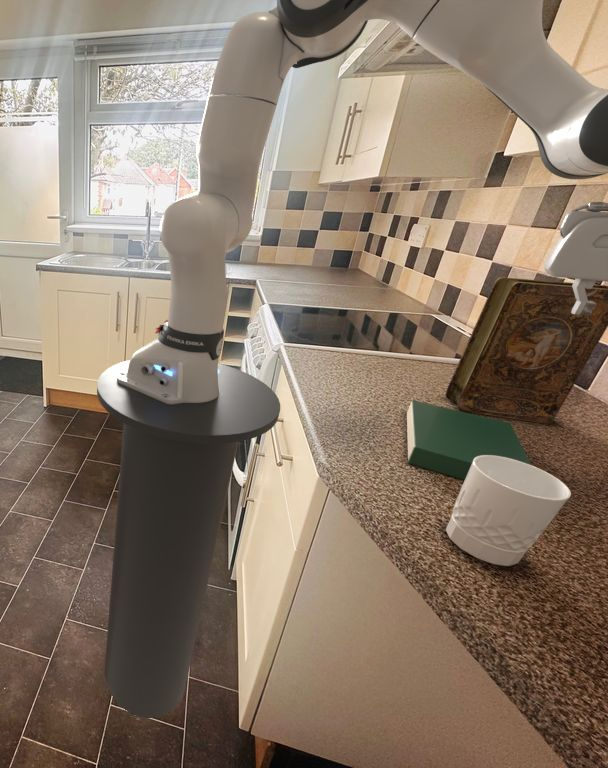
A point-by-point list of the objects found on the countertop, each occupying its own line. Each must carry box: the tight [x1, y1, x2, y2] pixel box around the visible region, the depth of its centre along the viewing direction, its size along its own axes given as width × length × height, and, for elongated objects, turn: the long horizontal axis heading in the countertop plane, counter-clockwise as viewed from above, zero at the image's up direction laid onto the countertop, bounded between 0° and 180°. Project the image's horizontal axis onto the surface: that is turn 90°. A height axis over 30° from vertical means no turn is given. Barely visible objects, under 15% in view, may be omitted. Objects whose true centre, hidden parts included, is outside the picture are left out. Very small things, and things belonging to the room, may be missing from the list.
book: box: [445, 276, 608, 425], centre depth 77 cm, size 16×6×25 cm, turn 73°
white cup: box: [445, 455, 572, 567], centre depth 47 cm, size 8×8×10 cm
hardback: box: [406, 399, 532, 481], centre depth 68 cm, size 14×20×3 cm
